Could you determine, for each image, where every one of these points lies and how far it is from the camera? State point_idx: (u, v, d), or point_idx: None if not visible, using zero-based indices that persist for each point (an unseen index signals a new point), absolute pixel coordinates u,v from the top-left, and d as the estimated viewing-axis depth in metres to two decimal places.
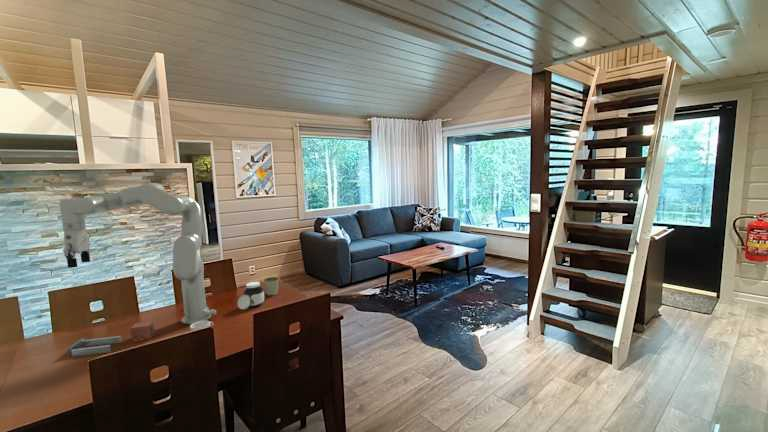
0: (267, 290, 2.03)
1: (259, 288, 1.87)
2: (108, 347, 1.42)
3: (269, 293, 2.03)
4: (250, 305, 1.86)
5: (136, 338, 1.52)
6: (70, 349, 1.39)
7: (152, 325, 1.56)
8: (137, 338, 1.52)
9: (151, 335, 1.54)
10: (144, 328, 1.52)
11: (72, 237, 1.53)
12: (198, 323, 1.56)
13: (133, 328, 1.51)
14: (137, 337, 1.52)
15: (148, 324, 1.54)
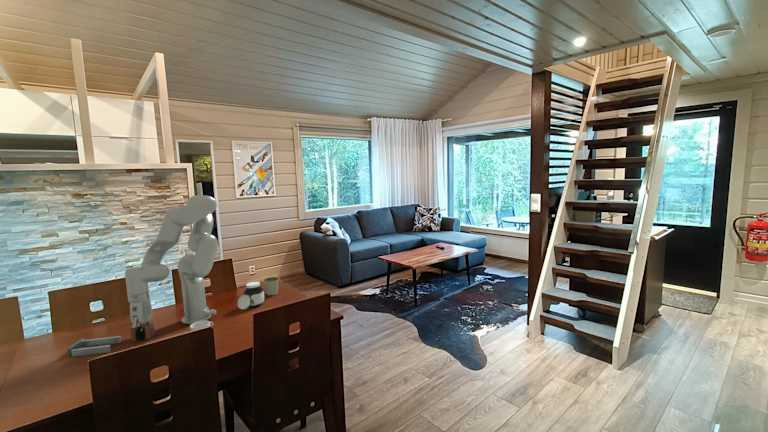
0: (267, 290, 2.03)
1: (259, 288, 1.87)
2: (108, 347, 1.42)
3: (269, 293, 2.03)
4: (250, 305, 1.86)
5: None
6: (70, 349, 1.39)
7: (152, 325, 1.56)
8: None
9: (151, 335, 1.54)
10: (144, 328, 1.52)
11: (138, 309, 1.48)
12: (198, 323, 1.56)
13: None
14: None
15: (147, 323, 1.54)
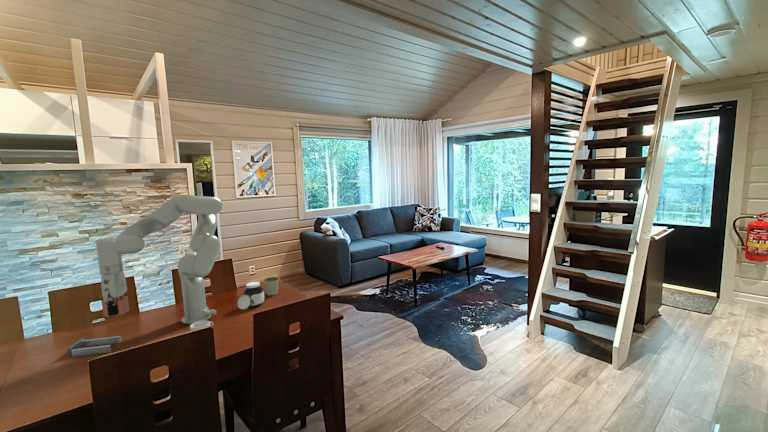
0: (267, 290, 2.03)
1: (259, 288, 1.87)
2: (108, 347, 1.42)
3: (269, 293, 2.03)
4: (250, 305, 1.86)
5: None
6: (70, 349, 1.39)
7: (126, 300, 1.47)
8: None
9: (124, 310, 1.45)
10: (117, 302, 1.43)
11: (110, 282, 1.40)
12: (198, 323, 1.56)
13: None
14: None
15: (121, 298, 1.45)
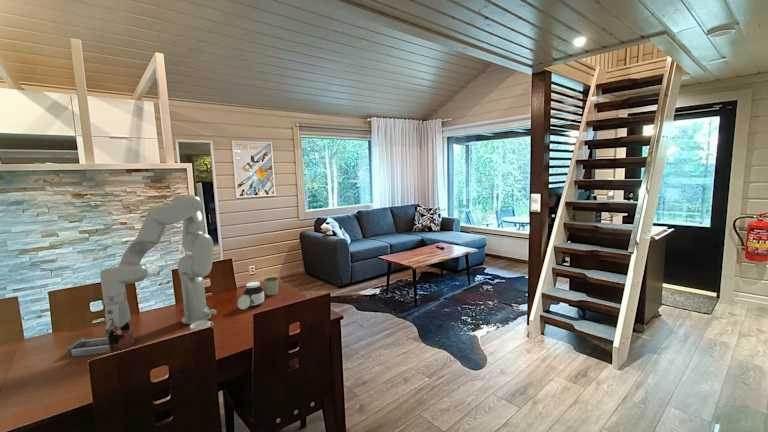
0: (267, 290, 2.03)
1: (259, 288, 1.87)
2: (108, 347, 1.42)
3: (269, 293, 2.03)
4: (250, 305, 1.86)
5: (113, 347, 1.45)
6: (70, 349, 1.39)
7: (130, 333, 1.49)
8: (114, 346, 1.45)
9: (129, 343, 1.47)
10: (122, 336, 1.45)
11: (114, 312, 1.41)
12: (198, 323, 1.56)
13: None
14: (114, 346, 1.45)
15: (125, 331, 1.47)
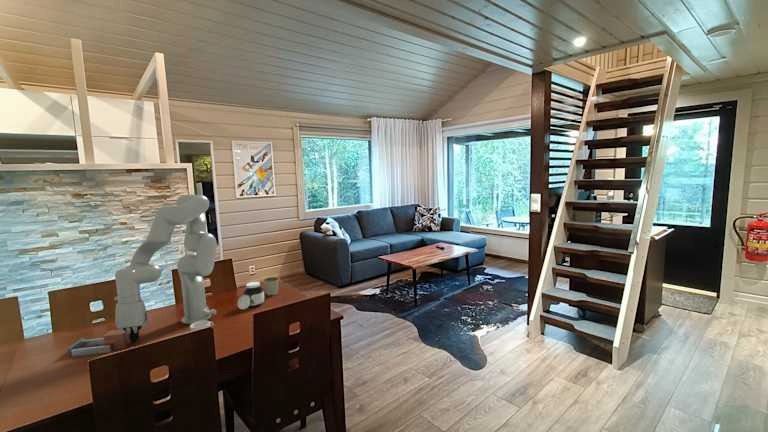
0: (267, 290, 2.03)
1: (259, 288, 1.87)
2: (108, 347, 1.42)
3: (269, 293, 2.03)
4: (250, 305, 1.86)
5: None
6: (70, 349, 1.39)
7: (127, 333, 1.48)
8: (111, 347, 1.44)
9: (126, 343, 1.47)
10: (118, 336, 1.45)
11: (115, 311, 1.44)
12: (198, 323, 1.56)
13: (106, 336, 1.44)
14: None
15: (122, 331, 1.47)
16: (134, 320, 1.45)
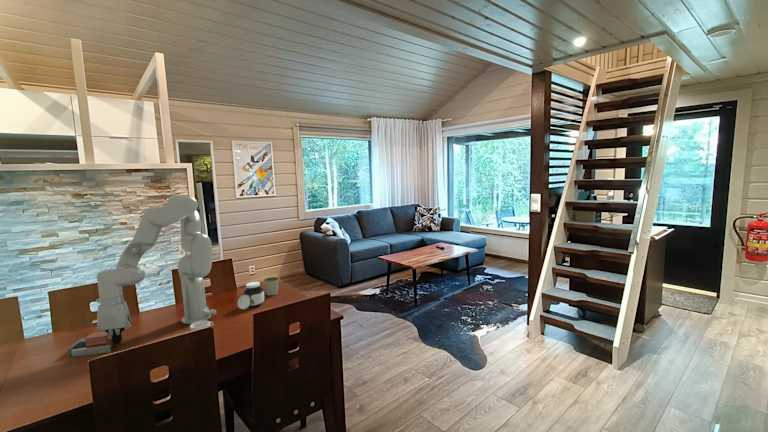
0: (267, 290, 2.03)
1: (259, 288, 1.87)
2: (108, 347, 1.42)
3: (269, 293, 2.03)
4: (250, 305, 1.86)
5: None
6: (70, 349, 1.39)
7: None
8: None
9: None
10: (100, 338, 1.43)
11: None
12: (198, 323, 1.56)
13: (88, 338, 1.42)
14: None
15: (104, 333, 1.45)
16: (116, 322, 1.43)
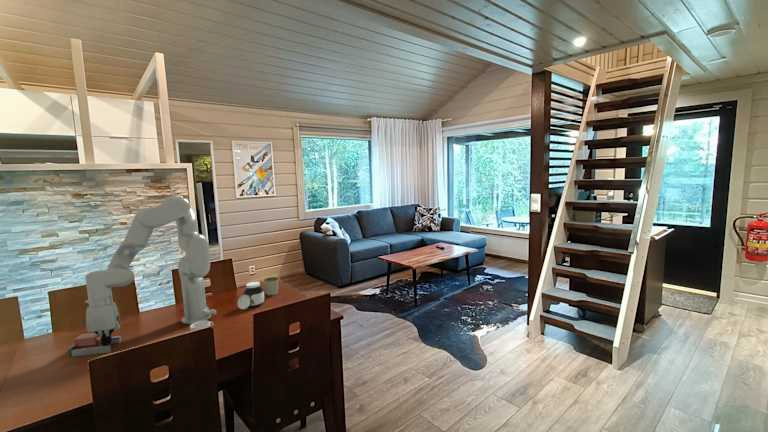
0: (267, 290, 2.03)
1: (259, 288, 1.87)
2: (108, 347, 1.42)
3: (269, 293, 2.03)
4: (250, 305, 1.86)
5: None
6: (70, 349, 1.39)
7: None
8: None
9: None
10: (89, 339, 1.42)
11: None
12: (198, 323, 1.56)
13: (77, 339, 1.42)
14: None
15: (94, 335, 1.45)
16: (105, 323, 1.43)
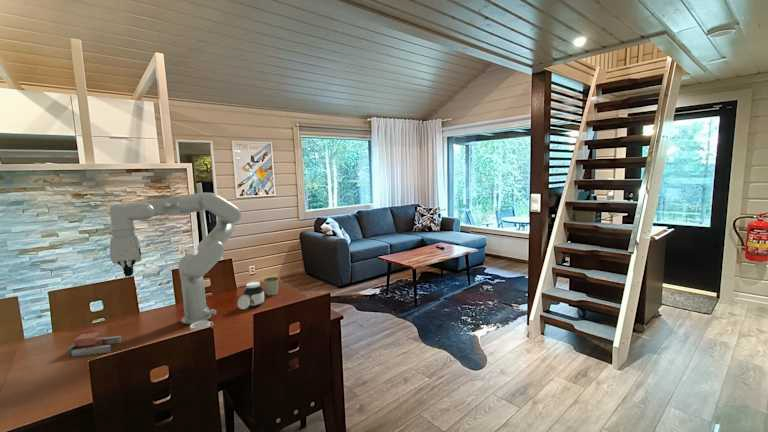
0: (267, 290, 2.03)
1: (259, 288, 1.87)
2: (108, 347, 1.42)
3: (269, 293, 2.03)
4: (250, 305, 1.86)
5: None
6: (70, 349, 1.39)
7: (99, 336, 1.46)
8: None
9: None
10: (89, 339, 1.42)
11: None
12: (198, 323, 1.56)
13: (77, 340, 1.42)
14: None
15: (94, 335, 1.45)
16: (128, 254, 1.50)
